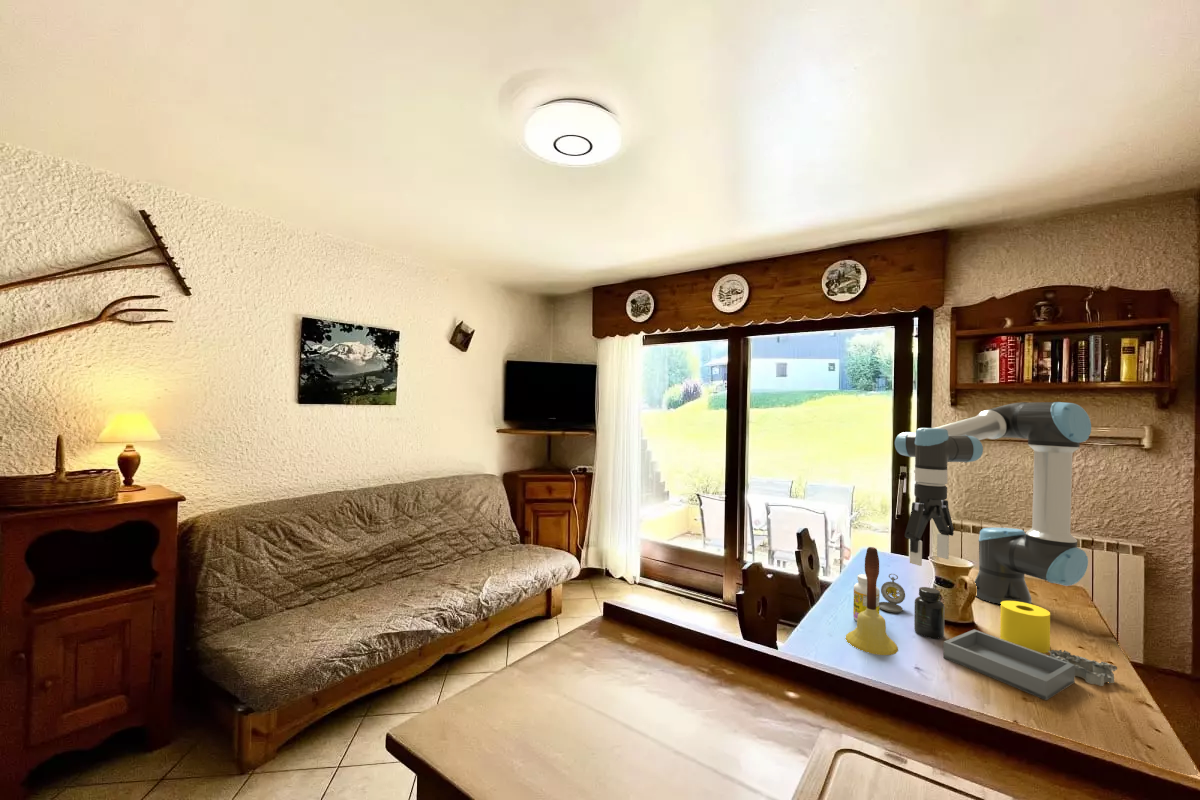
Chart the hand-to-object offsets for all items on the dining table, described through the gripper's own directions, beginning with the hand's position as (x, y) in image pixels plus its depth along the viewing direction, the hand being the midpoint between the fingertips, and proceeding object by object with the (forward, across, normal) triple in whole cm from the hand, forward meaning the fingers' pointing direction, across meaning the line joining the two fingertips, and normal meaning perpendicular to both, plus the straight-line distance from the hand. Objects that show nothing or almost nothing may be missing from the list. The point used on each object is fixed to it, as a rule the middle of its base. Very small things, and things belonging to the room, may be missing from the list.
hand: (929, 561), depth 136 cm
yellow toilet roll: (+20, -17, +15) cm, 30 cm away
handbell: (+20, +20, -4) cm, 29 cm away
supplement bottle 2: (+20, 0, 0) cm, 20 cm away
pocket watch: (+20, -8, -15) cm, 26 cm away
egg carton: (+20, -11, +28) cm, 36 cm away
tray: (+20, +3, +19) cm, 28 cm away
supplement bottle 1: (+20, +8, -13) cm, 25 cm away
